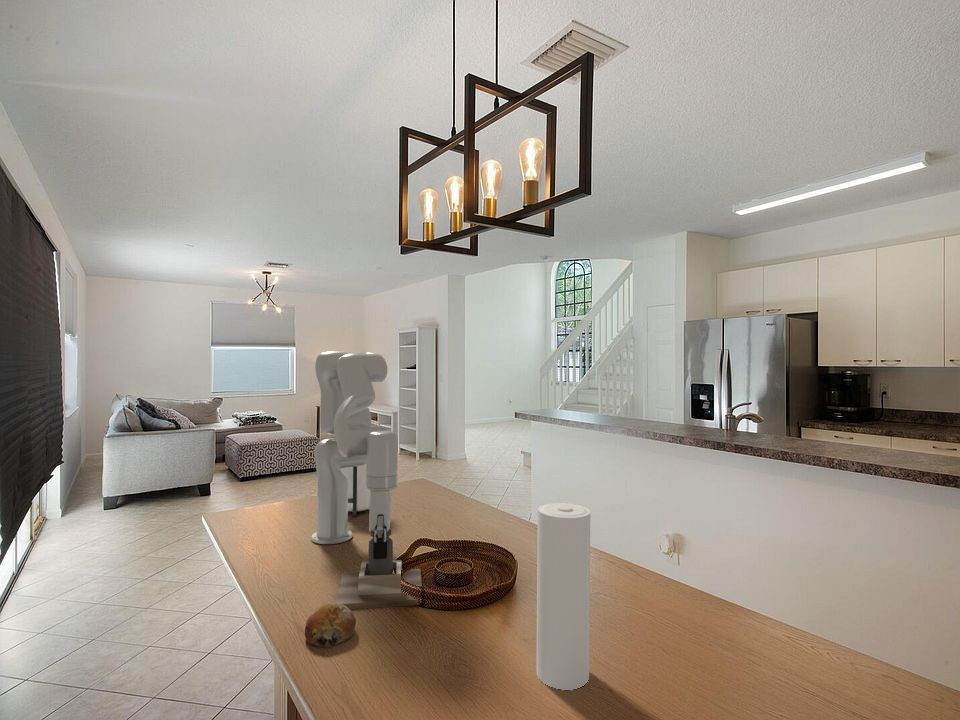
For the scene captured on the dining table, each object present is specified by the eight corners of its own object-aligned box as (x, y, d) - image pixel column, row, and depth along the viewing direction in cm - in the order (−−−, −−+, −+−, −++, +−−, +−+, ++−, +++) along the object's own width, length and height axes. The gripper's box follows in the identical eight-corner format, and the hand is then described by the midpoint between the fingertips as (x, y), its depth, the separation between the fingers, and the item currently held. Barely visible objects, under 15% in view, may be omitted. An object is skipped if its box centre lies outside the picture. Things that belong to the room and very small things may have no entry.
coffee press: (335, 506, 199) (336, 429, 199) (377, 505, 201) (378, 429, 201) (327, 520, 182) (328, 435, 182) (373, 519, 184) (374, 435, 184)
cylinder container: (532, 660, 97) (533, 500, 97) (580, 658, 97) (582, 500, 98) (542, 691, 87) (543, 515, 88) (596, 689, 88) (597, 514, 88)
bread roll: (359, 649, 106) (368, 606, 110) (333, 651, 98) (344, 605, 101) (319, 640, 110) (329, 599, 113) (290, 641, 101) (302, 597, 104)
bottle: (387, 590, 123) (387, 527, 123) (364, 588, 124) (365, 526, 124) (395, 580, 129) (396, 520, 129) (373, 578, 130) (374, 519, 130)
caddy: (343, 576, 133) (343, 556, 133) (420, 573, 136) (420, 553, 136) (333, 609, 116) (334, 586, 116) (422, 604, 118) (423, 581, 119)
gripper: (368, 474, 134) (367, 539, 134) (363, 490, 117) (362, 565, 117) (397, 473, 135) (396, 538, 135) (396, 489, 118) (395, 564, 118)
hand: (381, 551), depth 126 cm, fingers open, 9 cm apart
